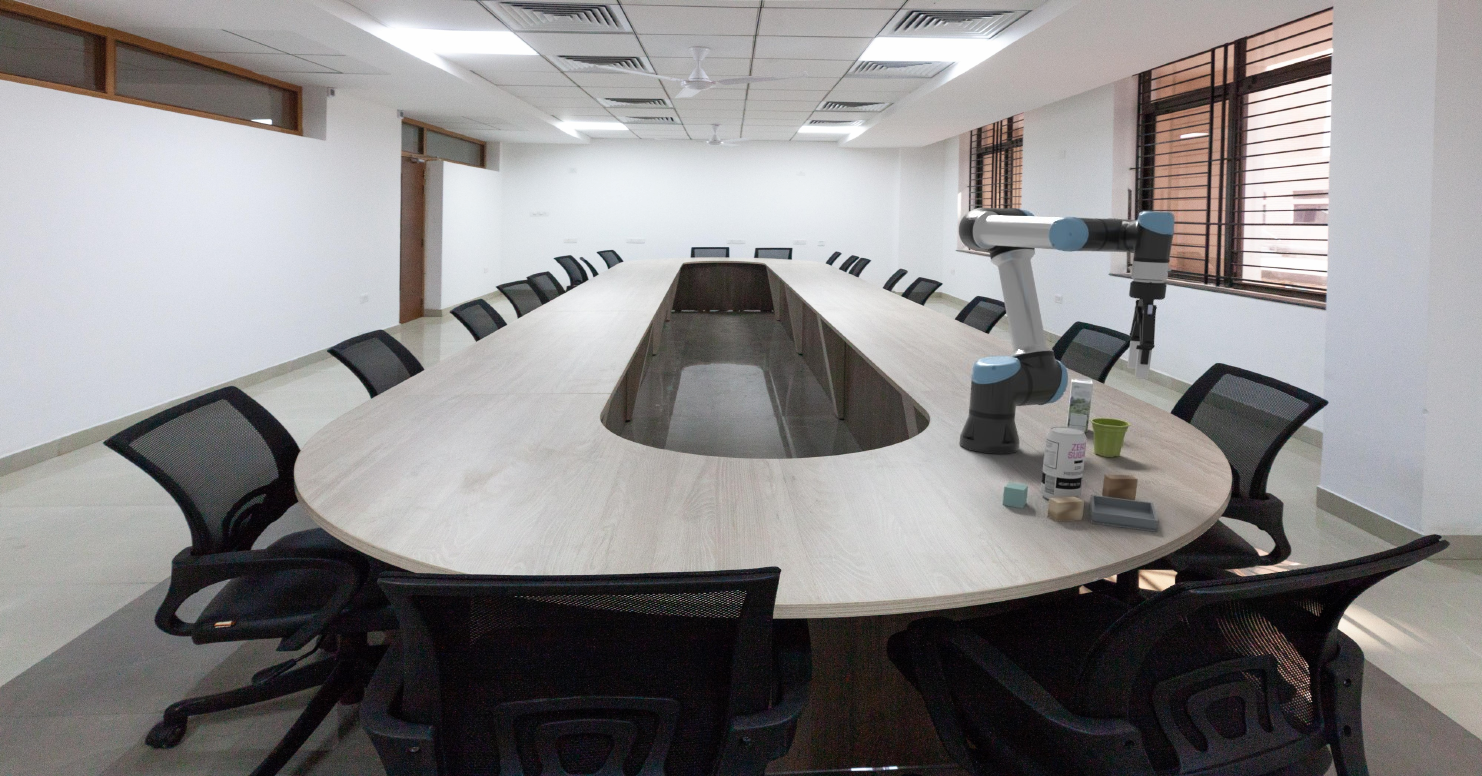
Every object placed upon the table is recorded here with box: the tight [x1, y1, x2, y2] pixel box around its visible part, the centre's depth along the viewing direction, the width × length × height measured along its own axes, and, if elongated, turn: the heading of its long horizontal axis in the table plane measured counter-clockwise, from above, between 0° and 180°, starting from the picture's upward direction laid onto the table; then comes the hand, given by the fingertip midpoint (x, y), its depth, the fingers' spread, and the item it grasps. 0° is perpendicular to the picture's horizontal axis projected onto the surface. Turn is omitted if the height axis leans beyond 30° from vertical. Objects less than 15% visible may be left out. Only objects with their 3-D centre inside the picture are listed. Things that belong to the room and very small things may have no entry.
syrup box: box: [1066, 378, 1094, 433], centre depth 258 cm, size 6×6×14 cm
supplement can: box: [1039, 425, 1088, 500], centre depth 194 cm, size 8×8×15 cm
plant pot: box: [1090, 417, 1131, 458], centre depth 232 cm, size 9×9×9 cm
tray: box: [1089, 494, 1159, 533], centre depth 183 cm, size 12×12×2 cm
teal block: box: [1002, 482, 1029, 509], centre depth 190 cm, size 4×4×4 cm
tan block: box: [1046, 497, 1085, 522], centre depth 182 cm, size 6×3×4 cm, turn 105°
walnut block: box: [1101, 473, 1139, 500], centre depth 196 cm, size 6×3×5 cm, turn 91°
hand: (1137, 373), depth 208 cm, fingers open, 13 cm apart
